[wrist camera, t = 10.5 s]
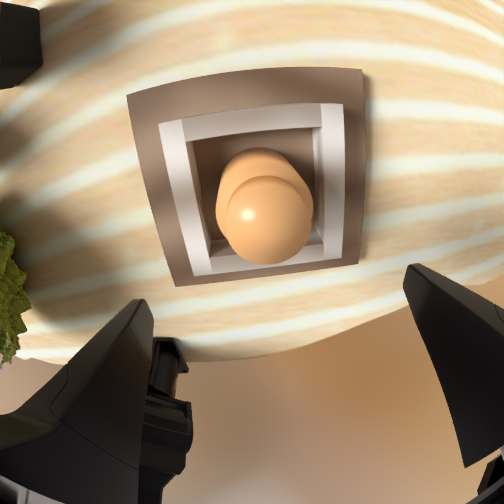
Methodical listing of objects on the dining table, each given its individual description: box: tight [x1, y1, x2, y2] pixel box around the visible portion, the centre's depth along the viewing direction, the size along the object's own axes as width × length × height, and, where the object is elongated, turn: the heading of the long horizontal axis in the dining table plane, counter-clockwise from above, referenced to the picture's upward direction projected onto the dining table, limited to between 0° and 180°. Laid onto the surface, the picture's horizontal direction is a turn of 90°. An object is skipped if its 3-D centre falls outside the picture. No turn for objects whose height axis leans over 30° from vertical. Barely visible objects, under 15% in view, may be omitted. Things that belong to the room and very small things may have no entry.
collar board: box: [126, 67, 366, 287], centre depth 18 cm, size 16×16×4 cm
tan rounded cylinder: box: [216, 147, 313, 265], centre depth 16 cm, size 5×5×7 cm
